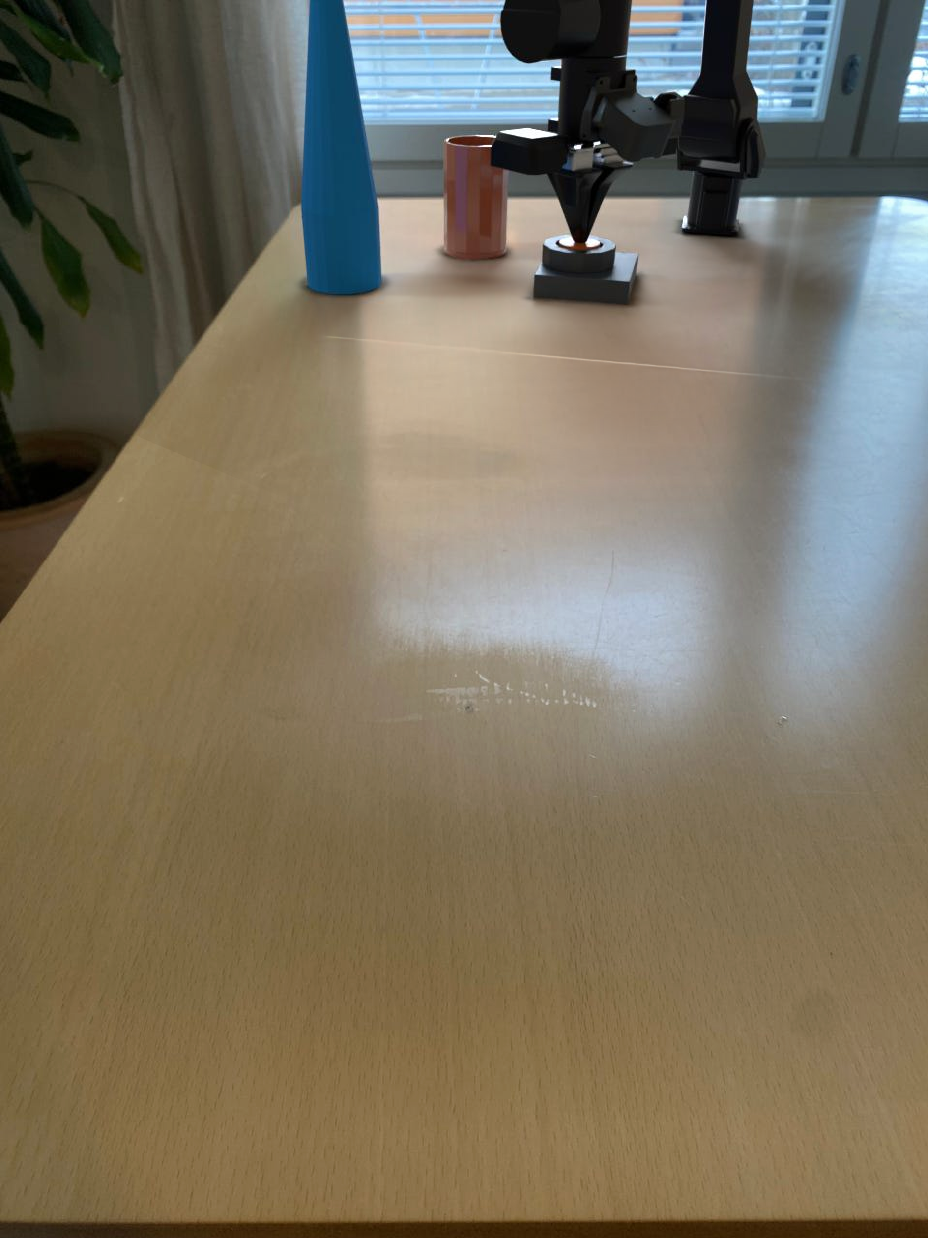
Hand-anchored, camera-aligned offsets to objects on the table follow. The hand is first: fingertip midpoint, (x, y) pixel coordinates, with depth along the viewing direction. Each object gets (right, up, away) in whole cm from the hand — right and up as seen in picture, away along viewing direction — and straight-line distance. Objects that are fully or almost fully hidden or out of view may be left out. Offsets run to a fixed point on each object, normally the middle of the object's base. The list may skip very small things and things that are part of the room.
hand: (579, 241), depth 91 cm
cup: (-10, +4, +13) cm, 17 cm away
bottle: (-23, -3, +3) cm, 23 cm away
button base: (+1, -4, +2) cm, 4 cm away
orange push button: (0, -1, +1) cm, 2 cm away
